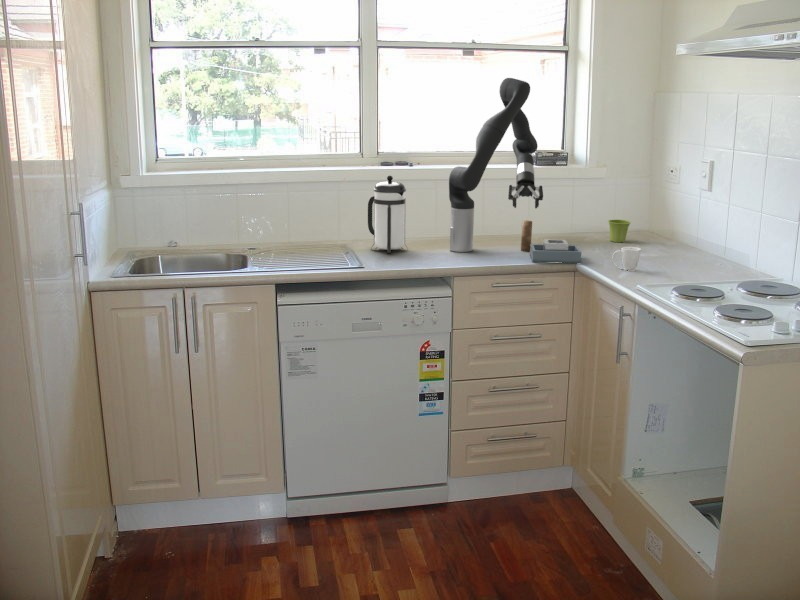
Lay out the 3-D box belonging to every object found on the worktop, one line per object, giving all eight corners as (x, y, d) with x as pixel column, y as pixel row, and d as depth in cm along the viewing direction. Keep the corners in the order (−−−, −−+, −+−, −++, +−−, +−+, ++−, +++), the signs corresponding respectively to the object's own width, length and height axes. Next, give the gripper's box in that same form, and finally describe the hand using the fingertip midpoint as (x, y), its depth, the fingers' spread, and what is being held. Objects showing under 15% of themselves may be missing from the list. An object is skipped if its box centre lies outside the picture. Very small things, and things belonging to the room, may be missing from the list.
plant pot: (630, 240, 344) (632, 220, 342) (627, 244, 336) (629, 223, 333) (608, 238, 348) (609, 218, 345) (605, 242, 339) (606, 222, 337)
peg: (521, 251, 319) (522, 222, 316) (520, 249, 323) (521, 220, 320) (531, 251, 319) (532, 222, 316) (530, 249, 323) (531, 220, 320)
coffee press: (409, 246, 326) (410, 173, 319) (406, 254, 311) (407, 178, 303) (368, 245, 328) (367, 172, 320) (362, 253, 313) (362, 177, 305)
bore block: (544, 259, 301) (545, 243, 300) (542, 254, 309) (543, 239, 308) (567, 259, 300) (568, 244, 299) (564, 254, 309) (565, 239, 307)
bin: (532, 262, 300) (533, 250, 299) (529, 255, 312) (530, 244, 311) (580, 263, 298) (581, 252, 297) (576, 256, 311) (576, 245, 310)
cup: (639, 272, 285) (641, 250, 283) (611, 271, 287) (612, 249, 285) (639, 268, 292) (641, 247, 289) (611, 266, 294) (612, 245, 292)
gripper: (508, 170, 333) (509, 201, 325) (543, 170, 332) (544, 202, 324) (507, 181, 339) (507, 212, 331) (541, 181, 338) (542, 212, 330)
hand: (525, 207), depth 328 cm, fingers open, 8 cm apart
